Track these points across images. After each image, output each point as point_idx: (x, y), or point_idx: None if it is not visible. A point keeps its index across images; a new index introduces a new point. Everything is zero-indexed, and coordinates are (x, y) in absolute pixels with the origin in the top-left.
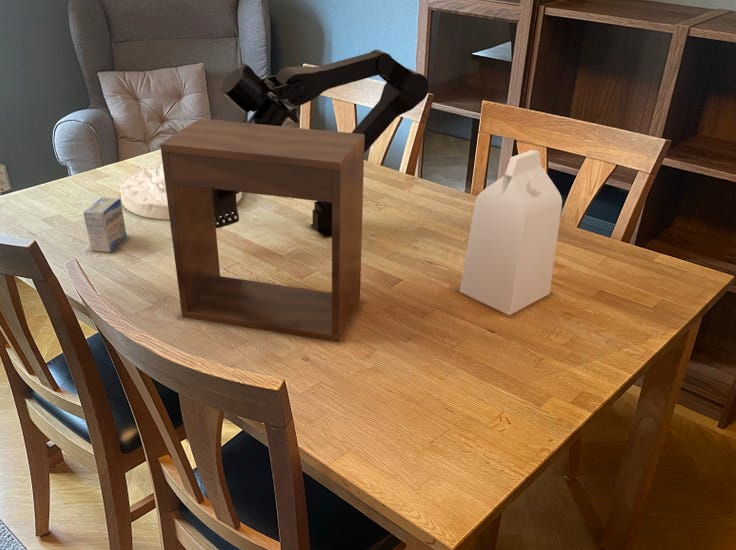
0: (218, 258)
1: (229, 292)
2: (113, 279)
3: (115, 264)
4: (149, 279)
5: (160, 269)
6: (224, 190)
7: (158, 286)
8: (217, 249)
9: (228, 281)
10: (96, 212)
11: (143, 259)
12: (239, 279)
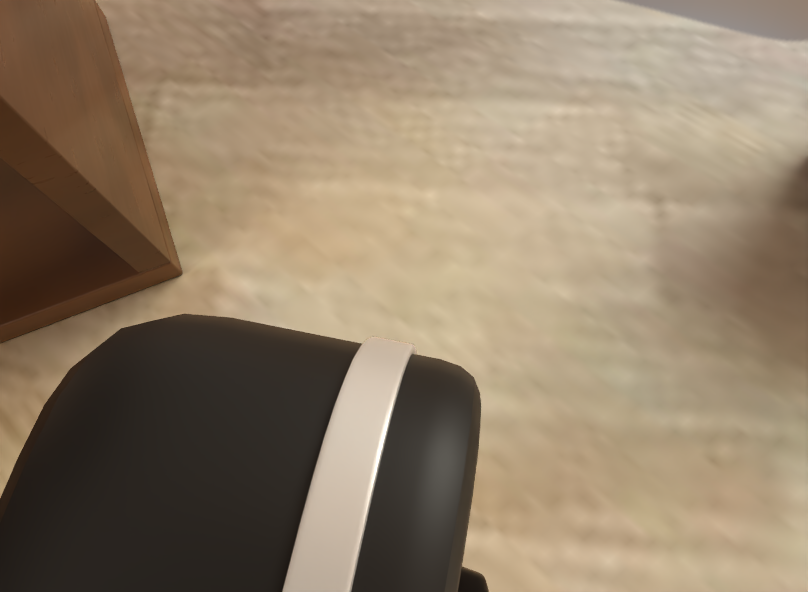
0: (87, 228)
1: (3, 193)
2: (556, 27)
3: (680, 103)
4: (439, 110)
5: (481, 194)
6: None
7: (358, 97)
8: (51, 197)
9: (69, 260)
10: None
11: (634, 208)
12: (32, 308)
